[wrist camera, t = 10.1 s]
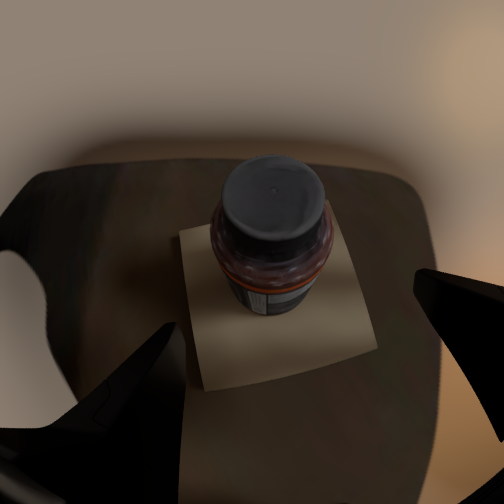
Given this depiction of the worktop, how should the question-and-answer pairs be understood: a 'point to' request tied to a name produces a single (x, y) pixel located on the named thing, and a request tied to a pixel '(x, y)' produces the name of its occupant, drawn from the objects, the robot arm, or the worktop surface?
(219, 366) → the beige square board
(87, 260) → the worktop surface
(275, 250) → the supplement bottle
